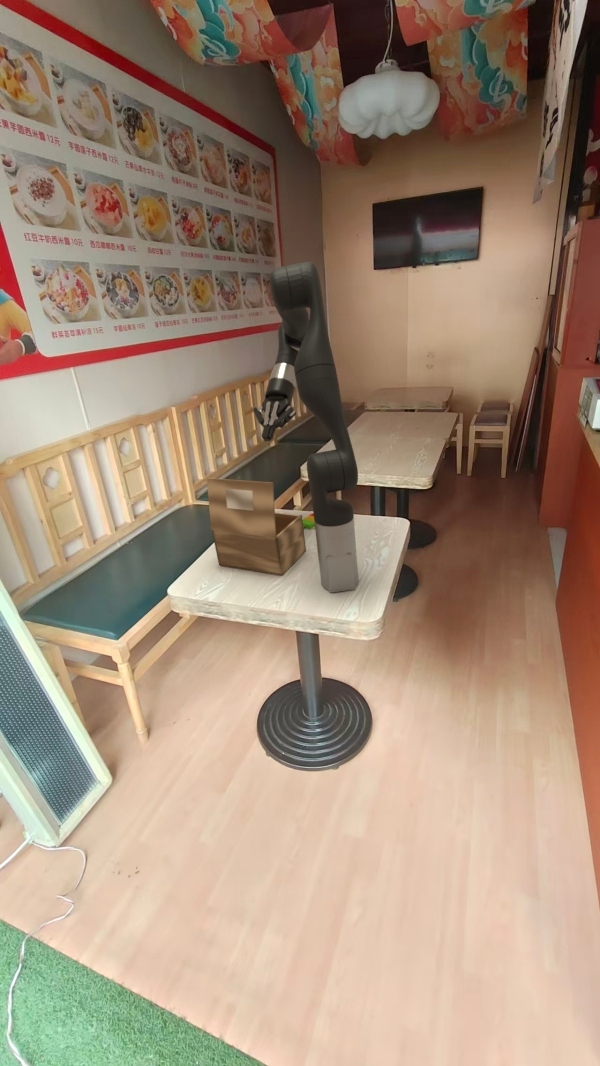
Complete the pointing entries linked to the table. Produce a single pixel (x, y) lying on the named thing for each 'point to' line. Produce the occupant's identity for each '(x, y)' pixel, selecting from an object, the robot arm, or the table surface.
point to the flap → (242, 506)
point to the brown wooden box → (263, 547)
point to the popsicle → (309, 521)
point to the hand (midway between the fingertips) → (266, 440)
